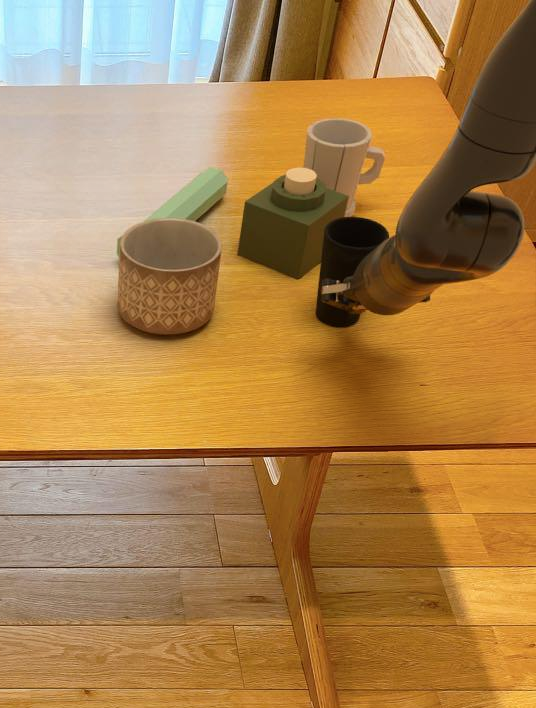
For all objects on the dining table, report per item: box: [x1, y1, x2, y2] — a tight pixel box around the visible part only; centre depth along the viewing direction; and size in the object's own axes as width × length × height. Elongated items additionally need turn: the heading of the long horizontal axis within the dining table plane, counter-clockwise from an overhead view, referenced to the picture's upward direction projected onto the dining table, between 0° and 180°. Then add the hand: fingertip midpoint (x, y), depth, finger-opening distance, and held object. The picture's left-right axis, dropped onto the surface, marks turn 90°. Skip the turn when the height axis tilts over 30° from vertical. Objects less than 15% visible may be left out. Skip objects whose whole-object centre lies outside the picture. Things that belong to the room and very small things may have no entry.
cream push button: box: [284, 167, 317, 195], centre depth 136 cm, size 4×4×2 cm
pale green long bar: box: [116, 167, 229, 258], centre depth 148 cm, size 6×6×25 cm
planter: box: [116, 218, 223, 335], centre depth 131 cm, size 13×13×10 cm
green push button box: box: [237, 173, 349, 280], centre depth 140 cm, size 10×10×10 cm
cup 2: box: [315, 216, 390, 328], centre depth 129 cm, size 8×8×12 cm
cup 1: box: [302, 117, 386, 217], centre depth 147 cm, size 10×9×12 cm
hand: (354, 305), depth 127 cm, fingers closed
